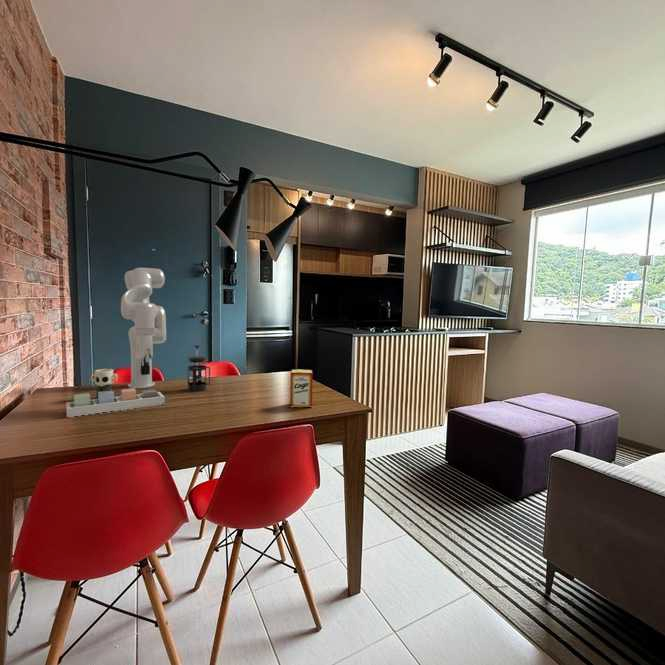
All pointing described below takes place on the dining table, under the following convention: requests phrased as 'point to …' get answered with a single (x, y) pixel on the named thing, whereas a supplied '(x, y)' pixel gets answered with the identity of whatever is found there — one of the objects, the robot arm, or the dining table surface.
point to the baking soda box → (301, 387)
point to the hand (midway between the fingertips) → (145, 374)
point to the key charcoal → (149, 393)
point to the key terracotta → (128, 394)
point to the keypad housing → (113, 405)
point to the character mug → (103, 379)
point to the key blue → (105, 397)
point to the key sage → (81, 399)
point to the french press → (198, 385)
